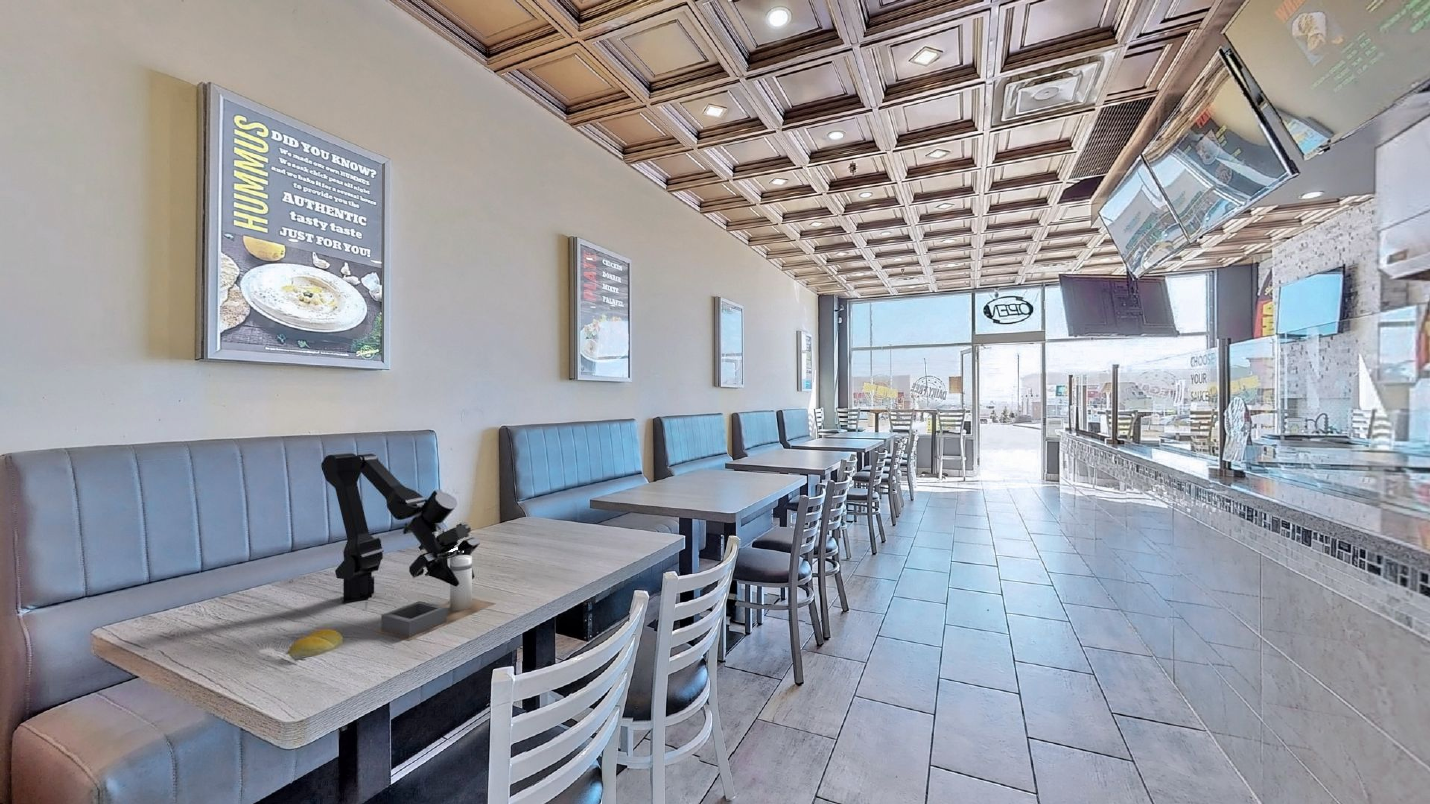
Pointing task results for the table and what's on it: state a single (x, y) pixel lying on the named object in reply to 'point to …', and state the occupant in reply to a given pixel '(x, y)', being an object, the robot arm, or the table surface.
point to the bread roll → (315, 644)
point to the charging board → (451, 617)
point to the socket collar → (413, 619)
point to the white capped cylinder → (461, 583)
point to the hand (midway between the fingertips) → (465, 581)
